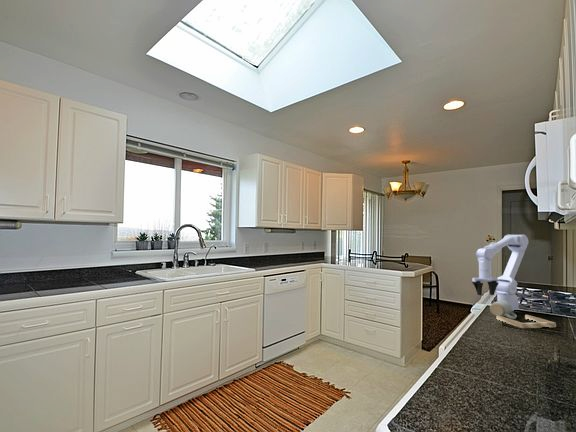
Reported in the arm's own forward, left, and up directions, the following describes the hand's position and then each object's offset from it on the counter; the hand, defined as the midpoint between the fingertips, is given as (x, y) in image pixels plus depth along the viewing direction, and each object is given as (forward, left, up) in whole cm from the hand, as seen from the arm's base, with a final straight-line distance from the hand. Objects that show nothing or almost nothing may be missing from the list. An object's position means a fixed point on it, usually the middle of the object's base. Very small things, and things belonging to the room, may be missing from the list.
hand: (485, 295), depth 165 cm
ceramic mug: (0, +11, -9) cm, 14 cm away
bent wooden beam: (0, +23, -9) cm, 25 cm away
